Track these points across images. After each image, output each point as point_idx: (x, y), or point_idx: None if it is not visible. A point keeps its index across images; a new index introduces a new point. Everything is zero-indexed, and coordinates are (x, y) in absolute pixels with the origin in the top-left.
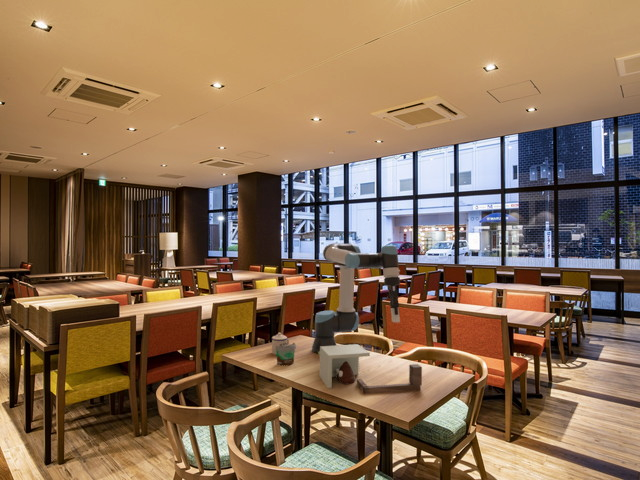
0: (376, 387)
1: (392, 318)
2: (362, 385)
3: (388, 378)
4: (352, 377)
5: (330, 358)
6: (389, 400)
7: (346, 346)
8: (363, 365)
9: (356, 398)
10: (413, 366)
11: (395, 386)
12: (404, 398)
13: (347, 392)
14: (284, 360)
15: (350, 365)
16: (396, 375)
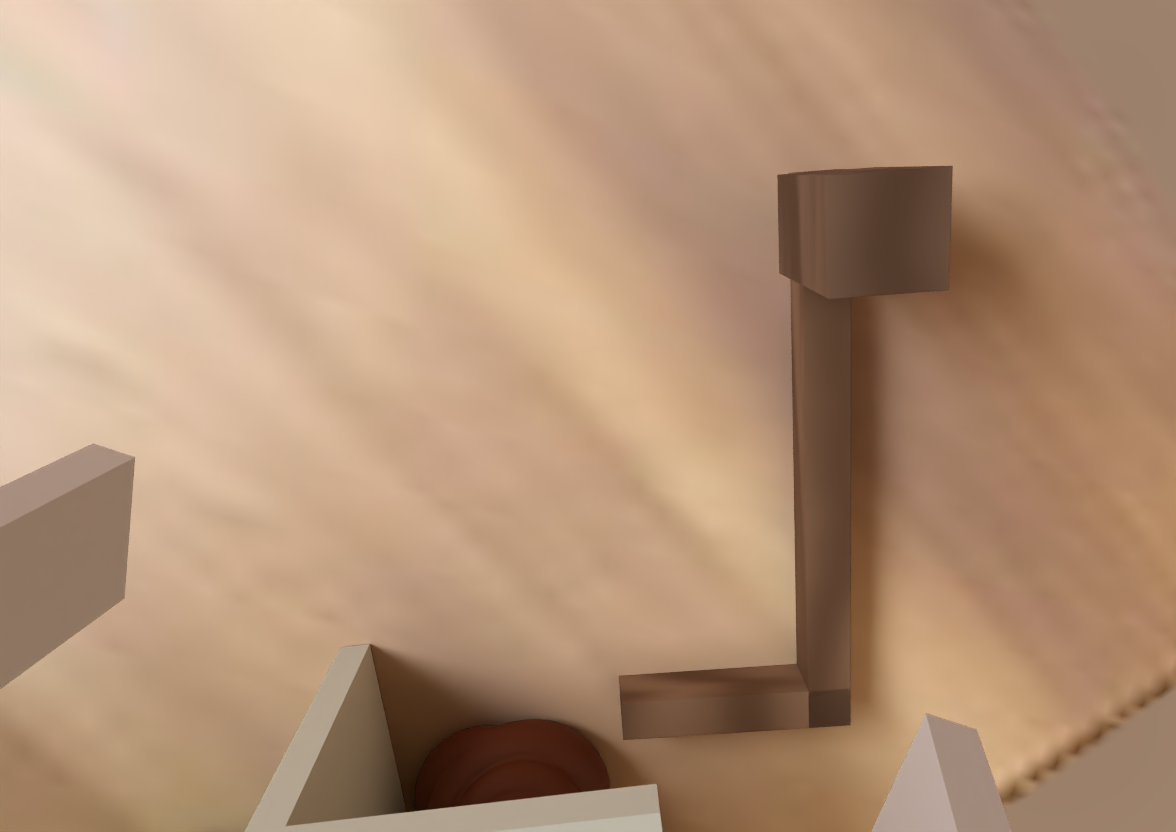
0: (850, 624)
1: (60, 626)
2: (787, 728)
3: (491, 387)
4: (579, 768)
5: None
6: (1005, 540)
7: None
8: None
9: None
10: (912, 274)
11: (850, 445)
12: (994, 401)
13: (784, 812)
14: None
15: (364, 778)
16: (406, 273)
